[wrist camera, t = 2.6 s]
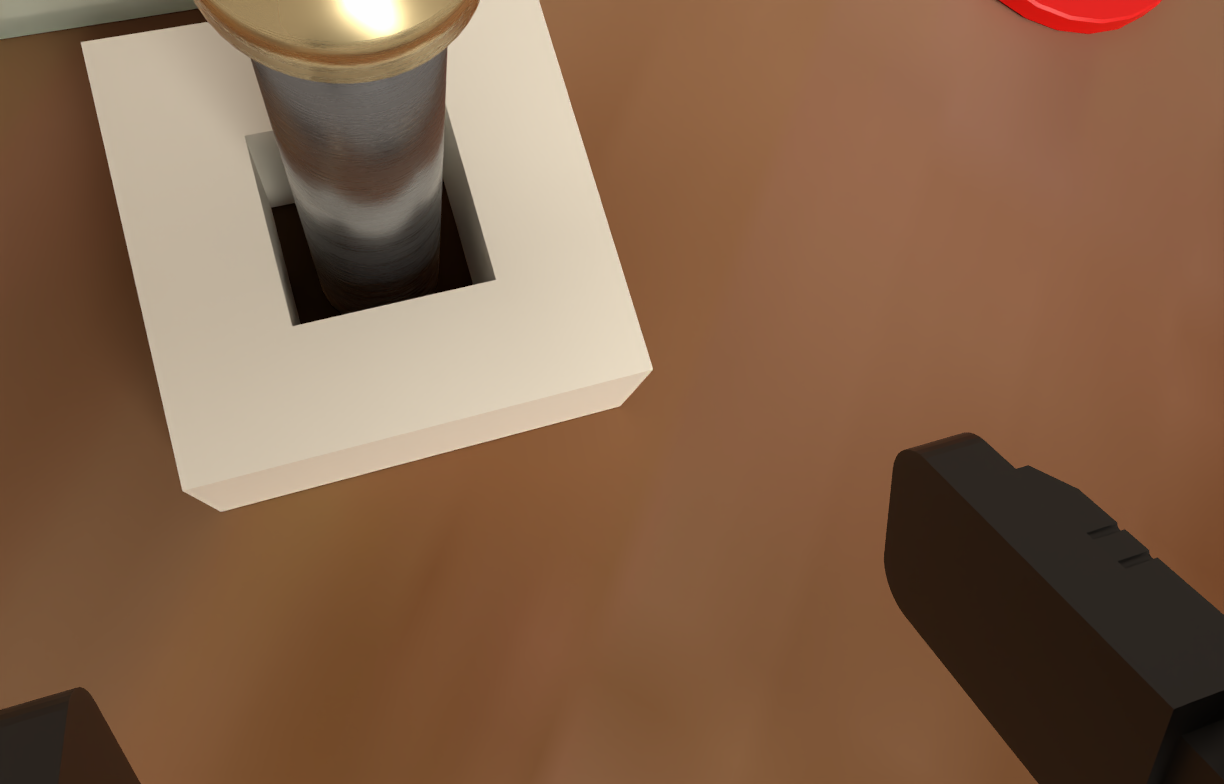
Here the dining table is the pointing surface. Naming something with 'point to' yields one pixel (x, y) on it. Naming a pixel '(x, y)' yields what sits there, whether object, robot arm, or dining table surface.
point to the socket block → (377, 337)
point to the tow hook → (1082, 13)
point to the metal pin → (356, 130)
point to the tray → (77, 13)
